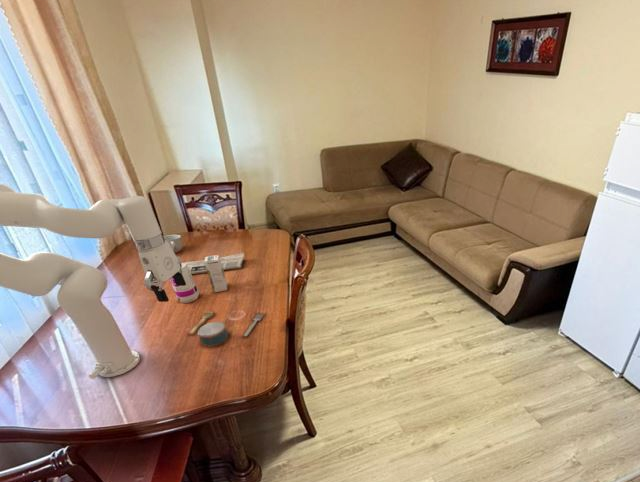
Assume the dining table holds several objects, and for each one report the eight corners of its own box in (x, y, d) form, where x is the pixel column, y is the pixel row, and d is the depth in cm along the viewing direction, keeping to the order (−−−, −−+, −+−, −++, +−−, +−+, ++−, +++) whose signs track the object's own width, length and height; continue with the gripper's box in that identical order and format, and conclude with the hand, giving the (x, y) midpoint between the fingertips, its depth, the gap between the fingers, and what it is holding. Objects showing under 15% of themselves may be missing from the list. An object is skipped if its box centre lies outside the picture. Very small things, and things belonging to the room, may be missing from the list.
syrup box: (214, 287, 170) (204, 256, 162) (228, 284, 172) (218, 254, 164) (213, 293, 166) (203, 262, 158) (228, 290, 167) (218, 259, 159)
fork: (248, 337, 137) (248, 335, 137) (241, 336, 137) (241, 335, 137) (264, 314, 149) (263, 313, 148) (257, 314, 149) (257, 313, 149)
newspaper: (166, 278, 180) (163, 271, 178) (173, 267, 191) (170, 260, 189) (243, 268, 185) (241, 261, 183) (246, 258, 195) (244, 251, 193)
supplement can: (192, 304, 159) (179, 271, 150) (174, 303, 161) (161, 270, 152) (203, 294, 165) (191, 262, 157) (186, 293, 167) (174, 261, 159)
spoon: (196, 334, 140) (195, 332, 139) (186, 334, 141) (185, 332, 140) (215, 313, 152) (214, 311, 151) (206, 313, 152) (205, 311, 152)
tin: (221, 347, 133) (217, 336, 130) (196, 346, 134) (192, 335, 131) (232, 332, 140) (229, 321, 137) (209, 331, 141) (205, 320, 139)
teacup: (163, 250, 210) (158, 236, 206) (184, 245, 214) (179, 231, 209) (163, 259, 200) (158, 244, 195) (186, 254, 203) (180, 240, 199)
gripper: (143, 254, 103) (168, 308, 113) (178, 229, 117) (198, 279, 127) (118, 254, 104) (145, 308, 114) (156, 230, 118) (177, 279, 128)
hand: (173, 293), depth 121 cm, fingers open, 9 cm apart
